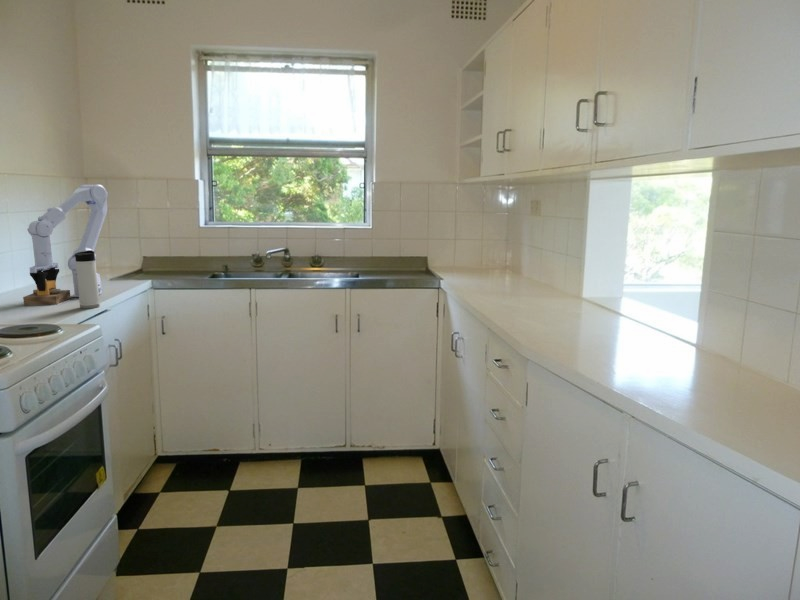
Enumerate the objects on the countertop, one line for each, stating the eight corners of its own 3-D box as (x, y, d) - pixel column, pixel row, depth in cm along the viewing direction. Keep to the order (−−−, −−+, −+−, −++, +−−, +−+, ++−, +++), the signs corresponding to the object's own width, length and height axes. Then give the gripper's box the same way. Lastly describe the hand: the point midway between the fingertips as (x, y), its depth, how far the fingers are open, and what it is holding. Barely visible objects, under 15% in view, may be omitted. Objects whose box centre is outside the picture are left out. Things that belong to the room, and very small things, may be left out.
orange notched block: (57, 297, 232) (55, 280, 230) (48, 299, 226) (46, 282, 225) (46, 297, 232) (44, 280, 230) (38, 299, 226) (36, 282, 225)
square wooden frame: (70, 297, 237) (69, 285, 236) (56, 304, 223) (55, 291, 222) (39, 298, 235) (38, 286, 234) (24, 305, 221) (22, 292, 221)
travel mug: (103, 305, 221) (98, 250, 217) (93, 308, 214) (87, 252, 211) (87, 305, 221) (82, 250, 218) (76, 308, 215) (70, 252, 211)
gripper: (41, 255, 219) (45, 292, 221) (64, 251, 233) (68, 286, 235) (22, 255, 219) (26, 292, 221) (46, 251, 233) (50, 286, 236)
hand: (46, 289), depth 228 cm, fingers closed on orange notched block, 5 cm apart
